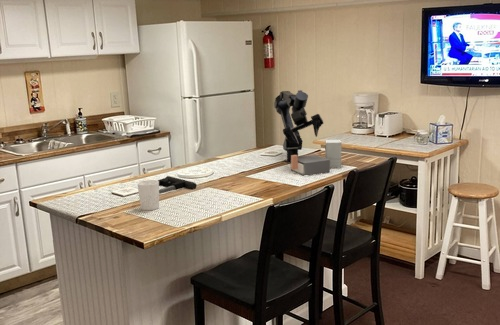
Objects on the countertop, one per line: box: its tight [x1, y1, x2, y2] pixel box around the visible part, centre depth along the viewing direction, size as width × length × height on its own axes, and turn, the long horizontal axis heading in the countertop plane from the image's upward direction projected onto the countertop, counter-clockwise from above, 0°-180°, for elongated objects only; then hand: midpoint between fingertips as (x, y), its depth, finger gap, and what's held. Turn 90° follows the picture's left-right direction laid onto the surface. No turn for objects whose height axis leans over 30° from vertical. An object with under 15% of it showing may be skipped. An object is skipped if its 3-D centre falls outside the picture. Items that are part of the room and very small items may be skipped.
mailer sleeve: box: [290, 154, 331, 176], centre depth 245 cm, size 14×13×6 cm
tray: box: [290, 154, 305, 175], centre depth 244 cm, size 12×15×8 cm
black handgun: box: [156, 175, 197, 195], centre depth 225 cm, size 3×20×16 cm
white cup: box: [137, 179, 160, 211], centre depth 196 cm, size 8×8×10 cm
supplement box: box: [325, 139, 342, 169], centre depth 253 cm, size 7×7×13 cm
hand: (307, 140), depth 240 cm, fingers open, 9 cm apart
